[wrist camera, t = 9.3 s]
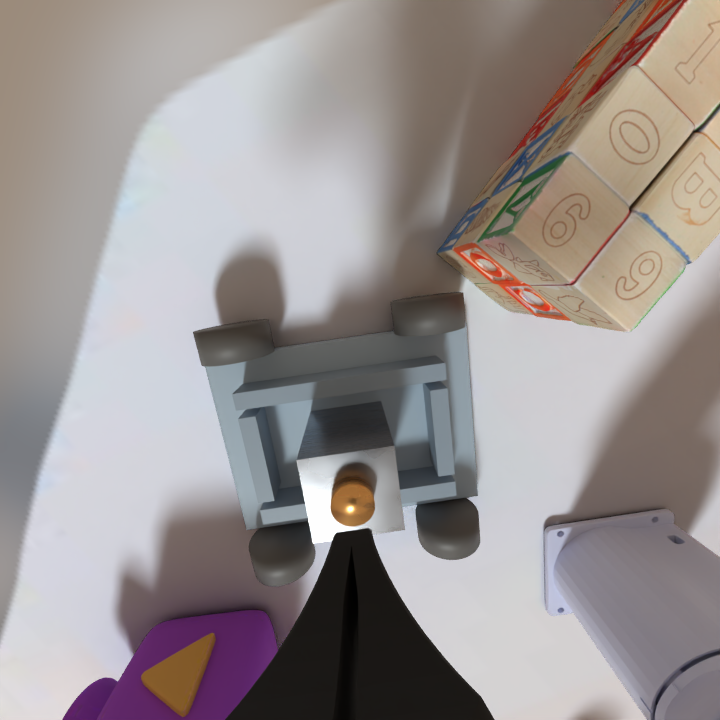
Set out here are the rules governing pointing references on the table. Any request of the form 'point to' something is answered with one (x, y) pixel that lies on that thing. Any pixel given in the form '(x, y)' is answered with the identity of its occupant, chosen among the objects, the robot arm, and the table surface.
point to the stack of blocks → (608, 176)
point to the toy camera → (185, 670)
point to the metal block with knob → (349, 472)
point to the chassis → (343, 388)
